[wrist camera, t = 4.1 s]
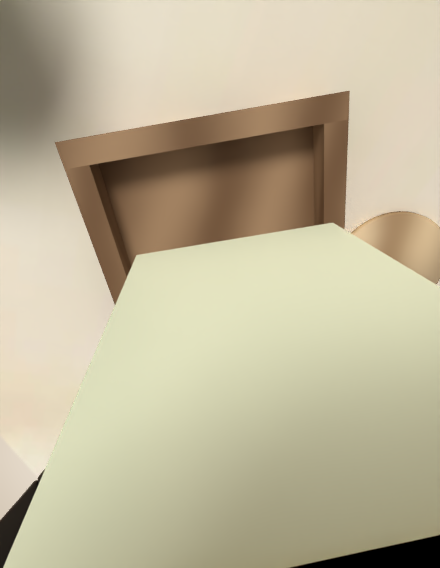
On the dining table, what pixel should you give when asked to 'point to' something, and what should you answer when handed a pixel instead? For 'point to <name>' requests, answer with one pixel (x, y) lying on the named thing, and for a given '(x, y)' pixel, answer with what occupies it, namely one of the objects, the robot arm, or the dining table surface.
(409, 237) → the cork coaster
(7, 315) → the dining table surface
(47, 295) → the dining table surface
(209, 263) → the sage canister
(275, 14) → the dining table surface
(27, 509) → the robot arm
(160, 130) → the walnut tray
